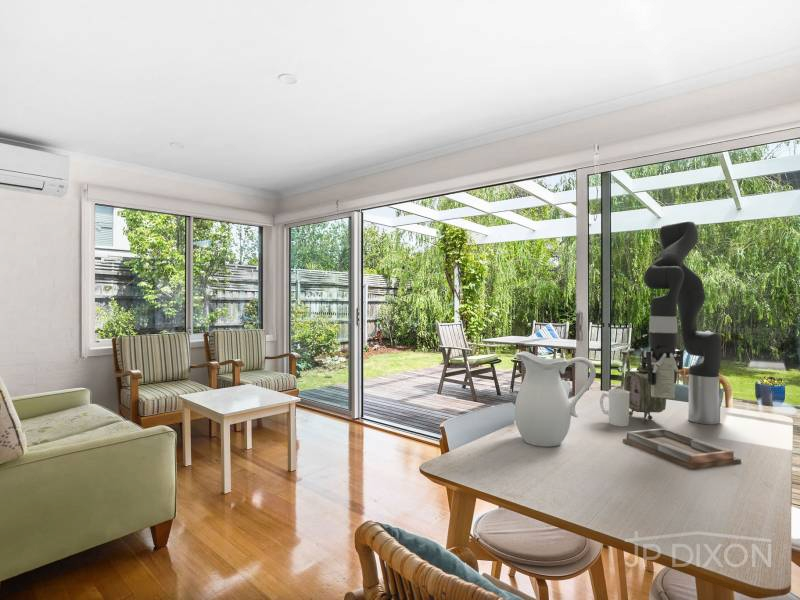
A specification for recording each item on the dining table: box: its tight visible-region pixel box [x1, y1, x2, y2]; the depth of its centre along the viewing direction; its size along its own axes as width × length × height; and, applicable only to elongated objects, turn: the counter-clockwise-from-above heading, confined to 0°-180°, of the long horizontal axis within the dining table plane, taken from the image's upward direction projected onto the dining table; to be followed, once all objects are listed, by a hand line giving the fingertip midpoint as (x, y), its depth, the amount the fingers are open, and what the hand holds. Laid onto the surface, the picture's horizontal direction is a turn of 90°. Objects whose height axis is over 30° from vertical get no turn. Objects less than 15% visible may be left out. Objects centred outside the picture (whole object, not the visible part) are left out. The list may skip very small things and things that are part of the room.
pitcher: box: [514, 351, 597, 448], centre depth 142 cm, size 24×17×28 cm
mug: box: [599, 388, 630, 427], centre depth 165 cm, size 10×7×12 cm, turn 46°
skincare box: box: [651, 358, 676, 399], centre depth 140 cm, size 6×4×12 cm
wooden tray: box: [622, 427, 742, 470], centre depth 135 cm, size 18×24×3 cm
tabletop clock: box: [623, 352, 667, 424], centre depth 170 cm, size 14×9×25 cm, turn 178°
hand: (662, 384), depth 140 cm, fingers closed on skincare box, 7 cm apart
